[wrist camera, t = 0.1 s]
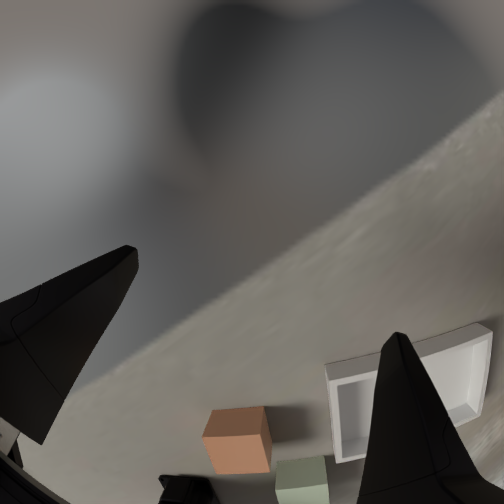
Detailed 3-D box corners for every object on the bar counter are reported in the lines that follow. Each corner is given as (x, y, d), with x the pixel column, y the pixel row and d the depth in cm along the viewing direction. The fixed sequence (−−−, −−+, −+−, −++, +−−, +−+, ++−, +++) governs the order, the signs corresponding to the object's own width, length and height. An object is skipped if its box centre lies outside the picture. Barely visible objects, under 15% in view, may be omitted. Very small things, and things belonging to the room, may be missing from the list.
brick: (272, 442, 26) (270, 472, 22) (224, 445, 27) (216, 473, 22) (263, 405, 26) (260, 434, 21) (212, 409, 26) (201, 437, 22)
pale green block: (326, 481, 26) (329, 508, 22) (283, 487, 27) (282, 514, 22) (323, 454, 26) (327, 483, 21) (276, 461, 26) (275, 490, 22)
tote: (468, 402, 23) (480, 416, 20) (332, 444, 25) (336, 463, 22) (476, 322, 23) (492, 331, 20) (324, 364, 25) (328, 381, 22)
